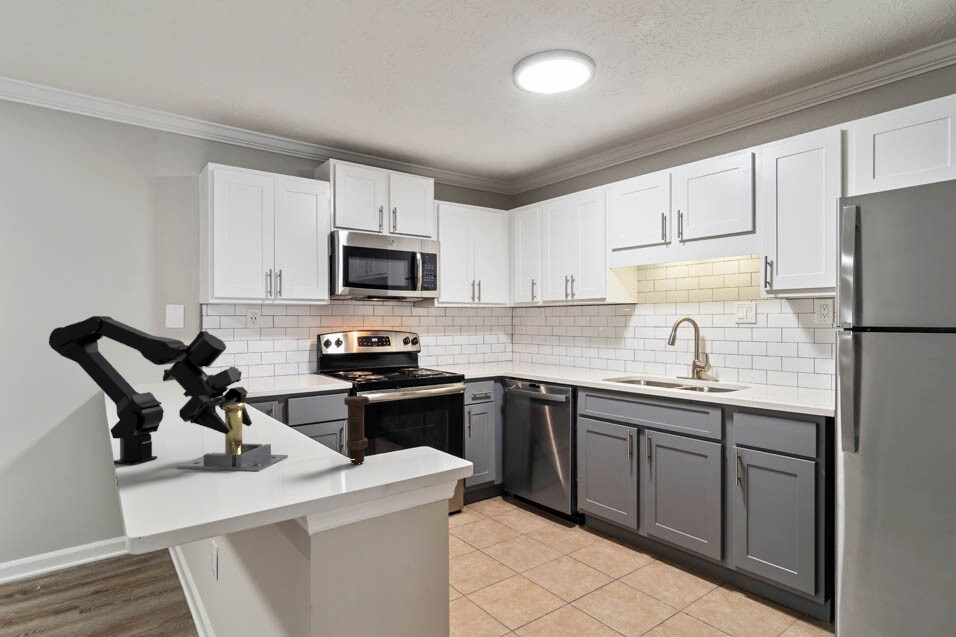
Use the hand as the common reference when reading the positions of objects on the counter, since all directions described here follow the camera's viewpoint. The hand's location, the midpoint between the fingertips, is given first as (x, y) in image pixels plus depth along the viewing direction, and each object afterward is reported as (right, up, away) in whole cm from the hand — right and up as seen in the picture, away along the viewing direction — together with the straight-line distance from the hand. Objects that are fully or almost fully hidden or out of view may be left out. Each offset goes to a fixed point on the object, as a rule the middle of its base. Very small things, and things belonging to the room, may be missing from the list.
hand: (239, 428), depth 122 cm
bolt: (+28, -8, -2) cm, 29 cm away
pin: (-1, -7, 0) cm, 7 cm away
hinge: (-1, -8, 0) cm, 8 cm away
